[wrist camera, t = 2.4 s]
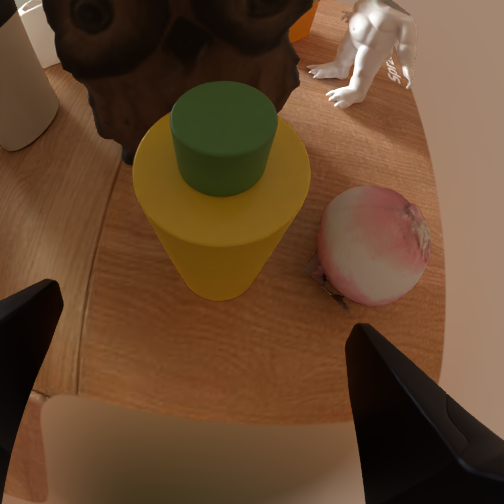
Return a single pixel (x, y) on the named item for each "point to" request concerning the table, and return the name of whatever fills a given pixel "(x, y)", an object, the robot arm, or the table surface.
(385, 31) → the toy creature
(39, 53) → the mug
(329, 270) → the onion
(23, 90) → the travel mug
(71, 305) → the table surface
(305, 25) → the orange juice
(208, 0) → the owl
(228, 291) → the lemon juice bottle
